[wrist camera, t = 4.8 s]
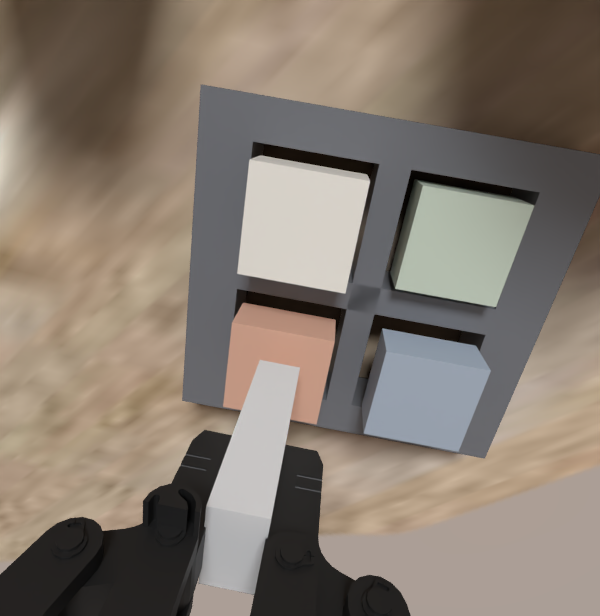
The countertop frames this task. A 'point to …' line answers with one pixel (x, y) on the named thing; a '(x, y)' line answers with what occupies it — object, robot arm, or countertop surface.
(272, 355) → the terracotta key
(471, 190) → the sage key
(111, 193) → the countertop surface
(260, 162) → the cream key
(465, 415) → the slate key
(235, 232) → the keypad
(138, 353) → the countertop surface
